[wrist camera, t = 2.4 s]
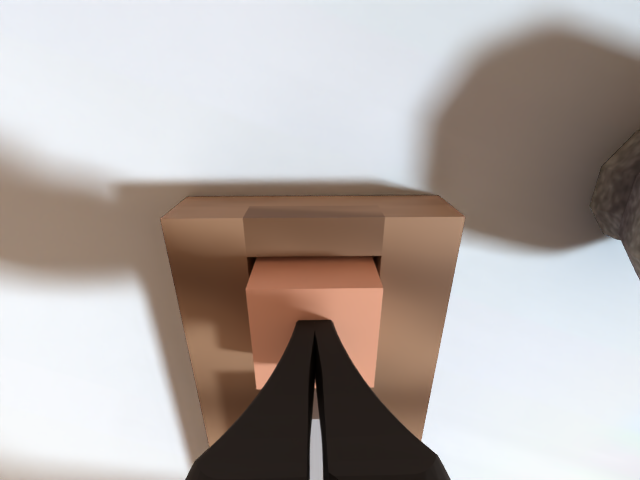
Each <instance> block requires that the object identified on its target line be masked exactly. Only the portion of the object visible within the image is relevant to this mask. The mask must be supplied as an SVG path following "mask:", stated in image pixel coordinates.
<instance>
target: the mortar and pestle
mask: <svg viewBox="0 0 640 480" xmlns="http://www.w3.org/2000/svg"><path fill="white" fill-rule="evenodd" d="M590 208H591V210H592V212H593V214H594V216H595V218H596V220H597V222H598V224H599V226H600V228H601V230H602V233H603V234H605V235H607V236H610V237H612V238H615V239H617V240H621V241H622V243H623V246H624V248H625V250H626V252H627V254H628V256H629V259H630V261H631V263H632V265H633V267H634V269H635V272H636V273H637V275H638V277H639V279H640V130H637V131H636V132H635V133H634V134H633V135H632V136H631V137H630V138H629V140H628V141H627V142H626V143H625V144H624V145H623V146H622V147H621V148H620V149H619V150H618V151H617V152H616V153H615V154H614V155H613V156H612V157H611V158H610V159H609V160H608V161H607V162H606V163H605V164H604V165H603V166H602V167H601V170H600V174H599V177H598V180H597V184H596V187H595V190H594V193H593V197H592V200H591V203H590Z"/></svg>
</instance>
